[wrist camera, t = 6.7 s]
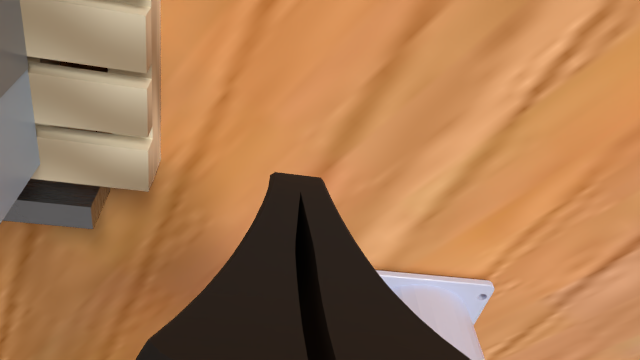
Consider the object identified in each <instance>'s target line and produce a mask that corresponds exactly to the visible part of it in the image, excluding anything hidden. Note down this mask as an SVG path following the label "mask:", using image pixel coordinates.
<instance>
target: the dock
mask: <svg viewBox="0 0 640 360" xmlns="http://www.w3.org/2000/svg"><path fill="white" fill-rule="evenodd" d="M109 192H110V187H102V186H93V185H84V184H75V183H66V182H57V181H48V180H39V179H30V180H29V181H28V183H27V184H26V186H25V187H24V189H23V191H22V192H21V194H20V195H19V197H18V198H17V200H16V201H15V203H14V204H13V206H12V207H11V209H10V210H9V212H8V213H7V215H6V216H5V218H4V219H3V220H4V221H14V222H24V223H35V224H45V225H56V226H66V227H77V228H87V229H93V228H94V226H95V224H96V221H97V219H98V217H99V215H100V212H101V210H102V208H103V206H104V203H105V201H106V199H107V197H108V194H109Z"/></svg>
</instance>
